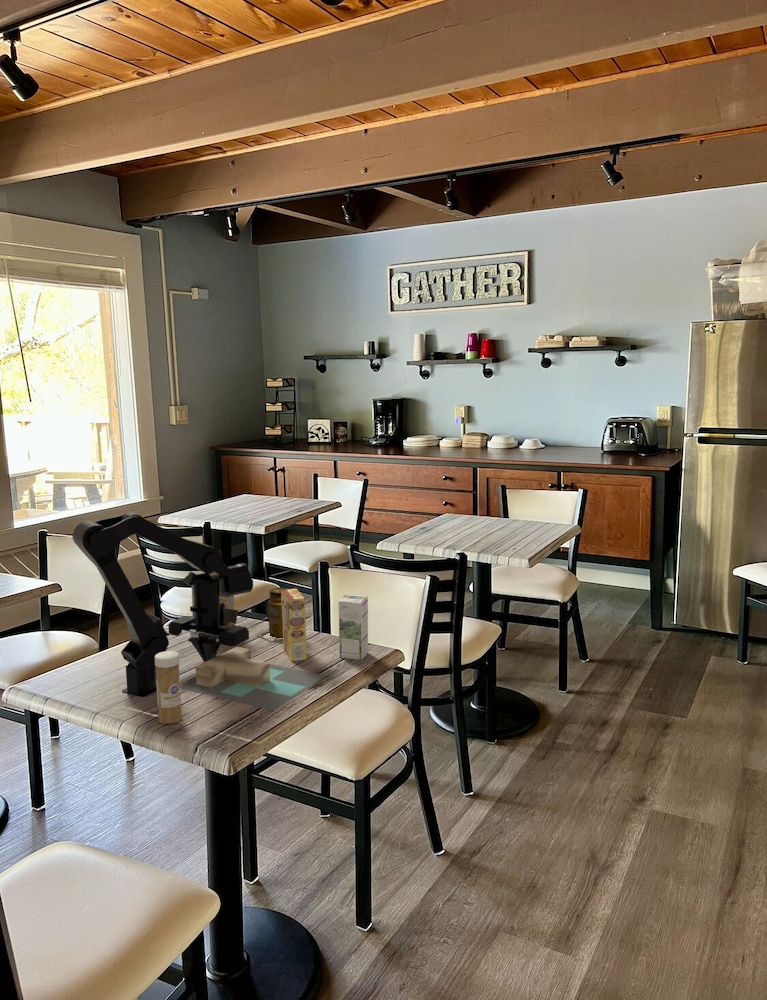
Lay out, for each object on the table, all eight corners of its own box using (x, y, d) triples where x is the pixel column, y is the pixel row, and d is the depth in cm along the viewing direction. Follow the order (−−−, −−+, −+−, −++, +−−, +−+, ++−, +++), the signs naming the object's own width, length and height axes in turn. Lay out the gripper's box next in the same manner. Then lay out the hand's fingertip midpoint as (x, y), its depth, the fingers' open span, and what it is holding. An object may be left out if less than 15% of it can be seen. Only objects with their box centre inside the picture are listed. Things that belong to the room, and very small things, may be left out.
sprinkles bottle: (170, 726, 149) (167, 660, 147) (153, 721, 151) (149, 656, 149) (187, 717, 153) (183, 652, 151) (170, 712, 155) (166, 648, 153)
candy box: (307, 660, 183) (306, 597, 180) (289, 663, 181) (288, 599, 179) (299, 648, 191) (297, 587, 188) (282, 650, 190) (280, 589, 187)
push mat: (273, 712, 155) (273, 710, 155) (181, 689, 166) (181, 688, 166) (326, 677, 173) (326, 675, 173) (240, 659, 184) (240, 657, 184)
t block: (244, 695, 162) (243, 677, 162) (196, 684, 168) (195, 666, 168) (283, 672, 174) (282, 655, 174) (237, 663, 180) (236, 646, 180)
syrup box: (369, 653, 187) (368, 595, 185) (361, 661, 182) (361, 602, 179) (346, 650, 189) (345, 593, 186) (338, 659, 183) (337, 600, 181)
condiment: (299, 635, 201) (298, 590, 199) (272, 643, 195) (271, 596, 193) (282, 628, 206) (281, 584, 204) (256, 636, 200) (254, 591, 198)
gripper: (262, 596, 175) (265, 662, 178) (198, 586, 184) (201, 649, 186) (231, 609, 166) (234, 679, 168) (165, 598, 174) (168, 664, 177)
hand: (210, 667), depth 175 cm, fingers closed
